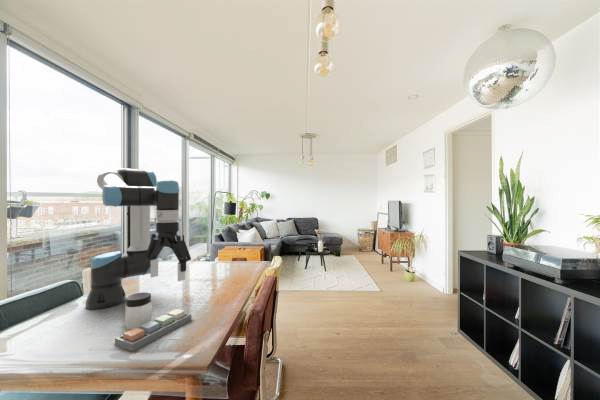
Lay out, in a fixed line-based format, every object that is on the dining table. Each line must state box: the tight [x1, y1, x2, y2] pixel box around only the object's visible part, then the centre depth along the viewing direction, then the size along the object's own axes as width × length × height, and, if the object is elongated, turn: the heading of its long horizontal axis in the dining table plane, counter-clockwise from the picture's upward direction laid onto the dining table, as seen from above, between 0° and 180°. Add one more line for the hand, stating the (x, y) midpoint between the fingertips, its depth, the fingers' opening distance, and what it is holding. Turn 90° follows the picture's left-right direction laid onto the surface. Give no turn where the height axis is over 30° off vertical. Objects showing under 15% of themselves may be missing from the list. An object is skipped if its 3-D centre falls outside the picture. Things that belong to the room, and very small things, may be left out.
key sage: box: [154, 314, 173, 326], centre depth 94 cm, size 4×4×2 cm
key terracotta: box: [122, 328, 144, 342], centre depth 84 cm, size 4×4×2 cm
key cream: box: [167, 308, 186, 320], centre depth 99 cm, size 4×4×2 cm
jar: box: [124, 292, 153, 330], centre depth 97 cm, size 9×8×12 cm
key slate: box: [140, 320, 159, 334], centre depth 89 cm, size 4×4×2 cm
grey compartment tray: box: [112, 312, 194, 353], centre depth 91 cm, size 11×23×4 cm, turn 156°
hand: (167, 278), depth 95 cm, fingers open, 13 cm apart
